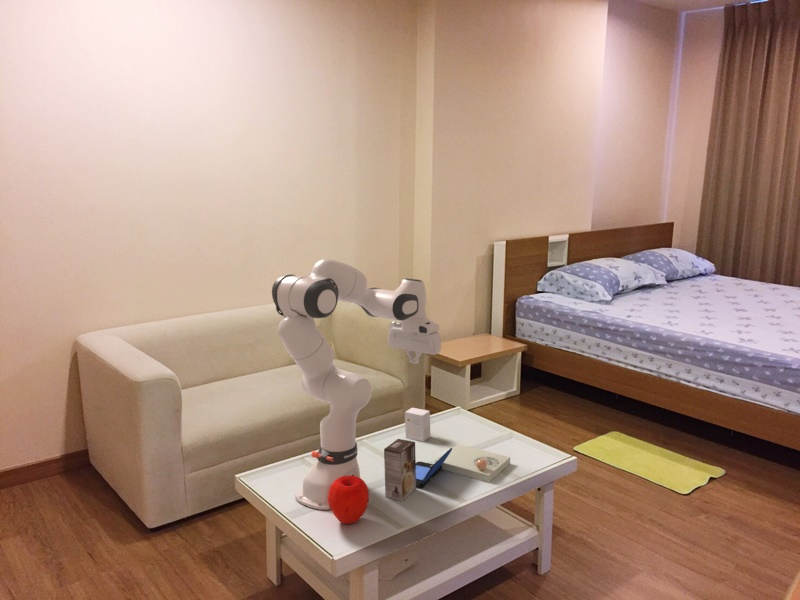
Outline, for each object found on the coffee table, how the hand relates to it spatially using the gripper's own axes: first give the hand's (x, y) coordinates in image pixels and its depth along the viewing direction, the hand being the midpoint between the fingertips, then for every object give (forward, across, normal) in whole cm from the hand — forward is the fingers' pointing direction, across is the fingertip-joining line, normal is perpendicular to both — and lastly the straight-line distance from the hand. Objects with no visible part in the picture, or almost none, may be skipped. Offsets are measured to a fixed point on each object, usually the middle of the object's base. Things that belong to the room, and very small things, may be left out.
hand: (414, 363), depth 224 cm
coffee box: (+33, +13, -28) cm, 45 cm away
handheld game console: (+34, +14, -15) cm, 39 cm away
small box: (+33, -6, +11) cm, 36 cm away
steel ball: (+31, +27, +1) cm, 42 cm away
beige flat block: (+33, +23, +1) cm, 40 cm away
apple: (+33, +10, -50) cm, 61 cm away
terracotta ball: (+29, +29, -5) cm, 41 cm away
